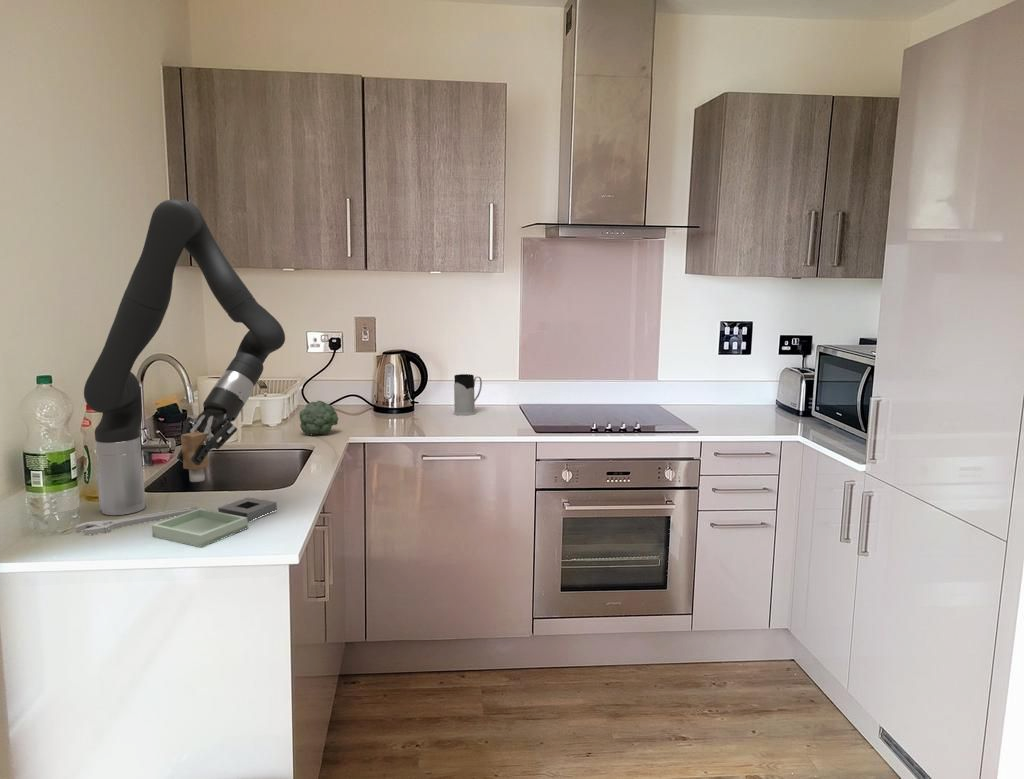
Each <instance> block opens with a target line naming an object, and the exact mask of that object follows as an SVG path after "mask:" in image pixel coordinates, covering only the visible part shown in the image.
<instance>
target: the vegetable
mask: <svg viewBox="0 0 1024 779" xmlns="http://www.w3.org/2000/svg"><path fill="white" fill-rule="evenodd" d="M299 421H300V426H299V427H300V429H301V431H302V432H303V433H305V434H306V435H307V436H312V435H311V434H313V435H316V434H317V435H320V434H323V435H324V434H326V433H327V434H328V433H329V431H330V430H332V427H333V426H336V425H338V423H339V417H338V413H337V412H336V410H335V408H334V407H333V406H332V405H331V404H329V403H327V402H324V401H322V400H316V401H311V402H308V403H307V404H306V406H305V408H304V409H301V411H300V412H299Z"/></svg>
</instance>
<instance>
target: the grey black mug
mask: <svg viewBox="0 0 1024 779" xmlns="http://www.w3.org/2000/svg"><path fill="white" fill-rule="evenodd" d="M453 376H454V378H453V379H454V384H453V392H454V393H453V394H454V399H453V400H454V403H453V404H454V412H453V415H454V416H460V417H461V416H462V417H464V416H473V415H476V410H475V404H476V401H477V400H478V398H479V396H480V395H481V394H480V393H481V390H482V386H483V385H482V384H483V380H482V378H481V377H480V376H475V375H473V374H467V373H466V374H465V373H463V374H462V373H461V374H455V375H453ZM474 376H475V377H474ZM477 378H478V379H479V382H480V383H479V389H478V393H477V395H476V397H475V387H476V386H475V384H476V381H477V380H476V379H477Z"/></svg>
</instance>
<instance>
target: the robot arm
mask: <svg viewBox="0 0 1024 779" xmlns="http://www.w3.org/2000/svg"><path fill="white" fill-rule="evenodd" d="M184 250H185V251H187V252H188V253H189V255H190V256H191V257H192V259H193V260H194V261H195V263H196V265H197V266H198V267H199V269H200V271H201V273H202V275H203V276H204V279H205V281H206V283H207V285H208V287H209V289H210V291H211V293H212V295H213V296H214V298H215V299H216V300H217V302H218V303H219V305H220V306H221V308H222V309H223V310H224V312H225V313H226V314H227V316H228V317H229V318H230V320H232V321H233V322H234V323H241V324H243V325H244V326H245V327H246V328H247V329H248V331H247V333H245V335H244V336H243V338H242V339H241V342H240V344H239V346H238V348H237V351H236V353H235V356H234V358H232V360H231V361H230V363H229V364H228V366H227V368H226V370H225V371H224V372H223V374H222V375H221V376H220V377H219V378H218V380H217V381H216V383H215V384H214V386H213V387H212V389H211V391H210V392H209V394H208V395H207V397H206V398H205V400H203V401H204V402H203V404H202V406H203V410H202V412H201V413H199V415H198V416H197V417H195V418H192V417H190V416H188V417H186V419H185V421H184V424H183V428H182V431H181V434H180V438H179V439H180V440H181V435H183V434H187V433H191V432H201V433H204V434H205V437H204V438H203V440H202V443H201V444H202V445H200V446H199V447H198V449H197V450H196V452H195V454H194V455H193V456H192V458H191V461H192V462H193V463H194V464H196V465H200V464H201V462H202V461H203V460H204V458H205V457H206V455H207V454H208V455H209V452H211V451H213V450H214V449H216V450H220V448H221V447H222V446H223V445H224V444H225V443H226V442H228V440H229V439H230V438H231V437H232V436H233V435H234V434H235V433H236V432H237V431H238V428H237V427H236V426H235V424H233V423H232V422H235V421H236V419H237V418H238V416H239V415H240V413H241V411H242V409H243V408H244V406H245V405H246V403H247V402H248V399H249V398H250V397H251V394H252V392H253V389H254V387H255V386H256V385H257V383H258V381H259V379H260V377H261V376H262V374H263V372H264V362H265V361H266V359H267V358H268V356H269V355H271V353H274V352H276V351H278V350H279V349H280V348H282V347H283V346H284V344H285V342H286V334H285V331H284V329H283V326H282V325H281V323H280V322H279V321H278V319H276V318H275V317H274V316H273V315H272V314H271V313H270V312H269V311H268V310H267V309H265V308H264V307H263V306H262V305H261V304H259V303H258V301H257V300H256V298H255V297H254V296H253V293H252V292H251V291H250V290H249V288H248V287H247V286H246V284H245V283H244V282H243V280H242V279H241V277H239V274H237V272H236V271H235V269H234V267H232V265H231V264H230V262H229V261H228V259H227V257H226V256H225V255H224V253H223V252H222V250H221V248H220V247H219V245H218V243H217V241H216V240H215V238H214V237H213V234H212V232H211V230H210V227H209V226H208V224H207V222H206V220H205V218H204V216H203V214H202V212H201V210H200V209H199V208H198V206H196V205H195V204H194V203H192V202H190V201H188V200H184V199H175V198H174V199H168V200H164V201H162V202H160V203H159V204H158V205H157V206H156V207H155V208H154V210H153V211H152V214H151V218H150V221H149V225H148V230H147V234H146V236H145V240H144V245H143V248H142V251H141V254H140V257H139V258H138V261H137V263H136V265H135V266H134V269H133V272H132V274H131V277H130V279H129V282H128V284H127V286H126V289H125V290H124V292H123V296H122V298H121V300H120V303H119V305H118V309H117V312H116V314H115V317H114V320H113V323H112V325H111V327H110V329H109V332H108V335H107V338H106V341H105V343H104V346H103V348H102V350H101V352H100V355H99V357H98V358H97V360H96V362H95V364H94V365H93V368H92V370H91V371H90V373H89V375H88V377H87V379H86V380H85V381H86V382H85V383H84V384H85V385H84V388H83V398H84V402H85V403H86V405H87V406H88V407H89V409H90V410H93V411H94V412H96V413H99V414H100V413H101V414H102V415H101V418H100V421H99V423H98V425H96V427H95V428H94V439H95V451H96V452H95V453H96V459H97V471H96V472H95V474H96V475H95V476H96V485H97V494H98V495H97V496H98V503H99V504H98V506H99V511H101V513H102V514H103V515H107V516H122V515H128V514H133V513H138V512H141V511H143V510H144V509H145V508H146V496H145V480H144V470H143V468H144V467H143V460H142V459H143V458H142V457H143V455H142V449H141V447H142V446H141V436H140V434H141V433H140V430H141V427H142V422H143V408H142V390H141V385H140V382H139V380H138V378H137V376H136V375H135V374H134V373H133V372H132V368H133V367H134V364H135V363H136V360H137V359H138V357H139V356H140V355H141V354H142V352H143V351H144V349H145V348H146V347H147V346H148V344H150V341H152V339H153V338H154V336H155V335H156V334H157V332H158V331H159V329H160V327H161V325H162V323H163V320H164V318H165V315H166V313H167V310H168V308H169V306H170V301H171V297H172V290H173V282H174V274H175V269H176V266H177V263H178V261H179V259H180V257H181V254H182V252H183V251H184ZM220 438H221V439H220ZM177 459H178V461H179V462H181V463H183V454H182V448H181V449H180V450H179V452H178V454H177Z"/></svg>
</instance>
